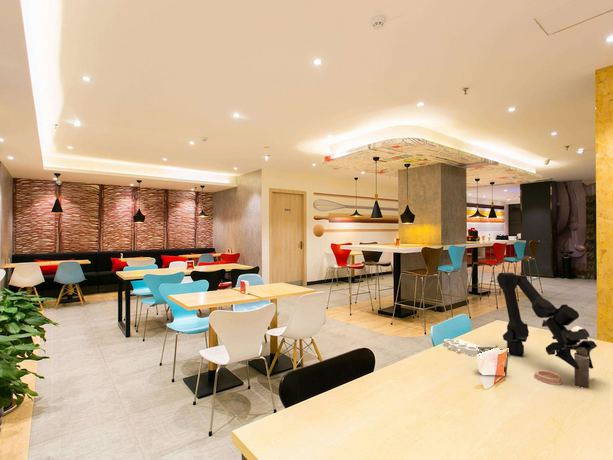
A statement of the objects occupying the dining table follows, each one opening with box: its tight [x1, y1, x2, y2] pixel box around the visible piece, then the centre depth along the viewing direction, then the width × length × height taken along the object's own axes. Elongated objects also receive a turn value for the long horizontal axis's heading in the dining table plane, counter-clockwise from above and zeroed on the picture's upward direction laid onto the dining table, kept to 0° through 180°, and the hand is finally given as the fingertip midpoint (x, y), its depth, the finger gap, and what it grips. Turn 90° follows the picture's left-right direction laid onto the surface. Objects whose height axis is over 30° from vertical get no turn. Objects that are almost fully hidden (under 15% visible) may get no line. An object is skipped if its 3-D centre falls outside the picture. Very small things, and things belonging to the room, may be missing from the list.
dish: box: [533, 369, 564, 386], centre depth 136 cm, size 10×10×2 cm
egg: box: [570, 325, 589, 344], centre depth 170 cm, size 7×7×12 cm
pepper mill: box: [573, 347, 590, 389], centre depth 130 cm, size 4×4×15 cm
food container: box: [478, 346, 511, 377], centre depth 142 cm, size 12×6×10 cm, turn 84°
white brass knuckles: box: [443, 338, 482, 357], centre depth 169 cm, size 3×18×15 cm
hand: (585, 368), depth 129 cm, fingers open, 6 cm apart
